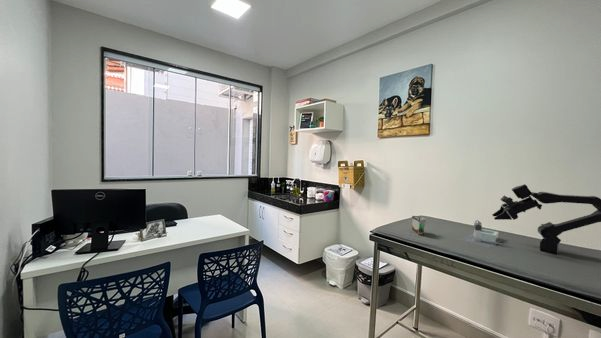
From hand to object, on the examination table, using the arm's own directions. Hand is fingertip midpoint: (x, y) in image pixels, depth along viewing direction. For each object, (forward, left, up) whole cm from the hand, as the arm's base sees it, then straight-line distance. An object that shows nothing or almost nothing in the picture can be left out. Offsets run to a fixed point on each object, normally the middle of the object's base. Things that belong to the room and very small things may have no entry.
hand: (493, 217), depth 146 cm
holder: (+4, -4, -15) cm, 16 cm away
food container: (+32, +22, -15) cm, 42 cm away
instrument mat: (+5, +1, -15) cm, 16 cm away
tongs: (+5, +7, -15) cm, 17 cm away
